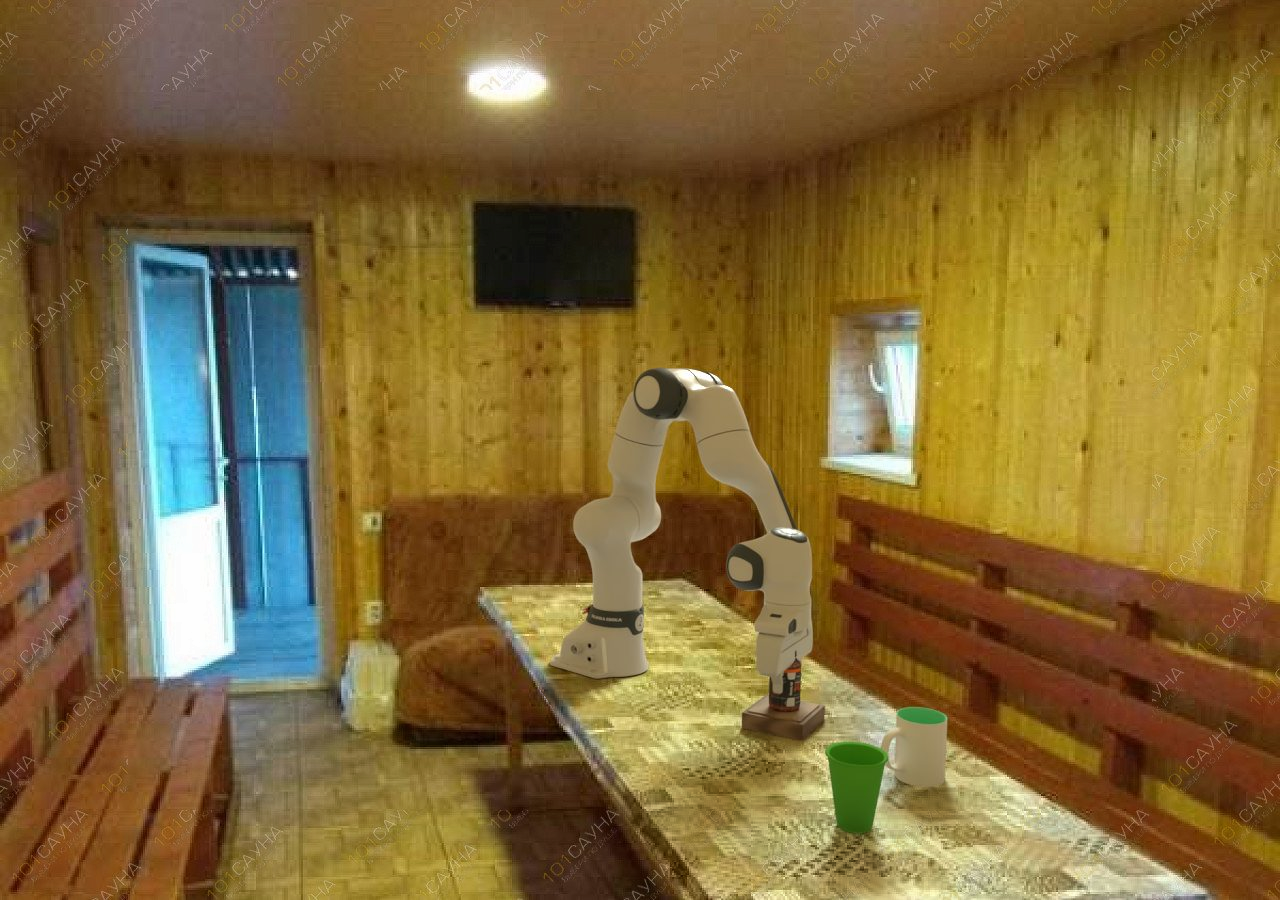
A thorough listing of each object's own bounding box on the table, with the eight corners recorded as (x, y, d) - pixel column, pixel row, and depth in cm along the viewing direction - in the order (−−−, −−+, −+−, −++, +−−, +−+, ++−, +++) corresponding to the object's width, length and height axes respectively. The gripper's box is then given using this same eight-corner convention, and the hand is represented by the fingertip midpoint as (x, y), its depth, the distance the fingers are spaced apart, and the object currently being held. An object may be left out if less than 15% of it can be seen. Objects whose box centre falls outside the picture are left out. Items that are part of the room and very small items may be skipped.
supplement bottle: (800, 713, 177) (801, 654, 176) (767, 711, 178) (769, 652, 177) (800, 703, 183) (802, 645, 182) (769, 700, 184) (770, 643, 183)
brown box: (741, 728, 178) (742, 711, 178) (766, 709, 189) (766, 692, 189) (802, 741, 172) (802, 723, 172) (824, 720, 183) (824, 704, 183)
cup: (816, 812, 144) (817, 741, 143) (874, 810, 145) (876, 740, 144) (832, 841, 135) (835, 766, 134) (895, 839, 136) (897, 764, 135)
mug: (902, 795, 150) (904, 731, 150) (866, 777, 157) (868, 715, 157) (955, 780, 156) (958, 719, 156) (918, 763, 163) (921, 704, 162)
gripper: (791, 602, 190) (789, 669, 191) (750, 624, 172) (749, 699, 173) (821, 606, 186) (819, 675, 188) (783, 629, 169) (781, 705, 170)
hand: (785, 687), depth 180 cm, fingers closed on supplement bottle, 6 cm apart
